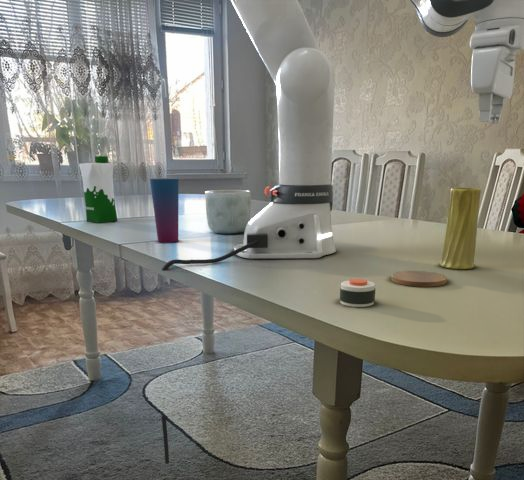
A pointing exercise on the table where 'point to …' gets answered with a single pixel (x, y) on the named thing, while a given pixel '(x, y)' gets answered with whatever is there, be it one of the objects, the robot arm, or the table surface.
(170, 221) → the cup
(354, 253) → the table surface
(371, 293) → the sushi
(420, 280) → the coaster
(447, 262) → the vase
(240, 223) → the planter
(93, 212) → the milk carton
